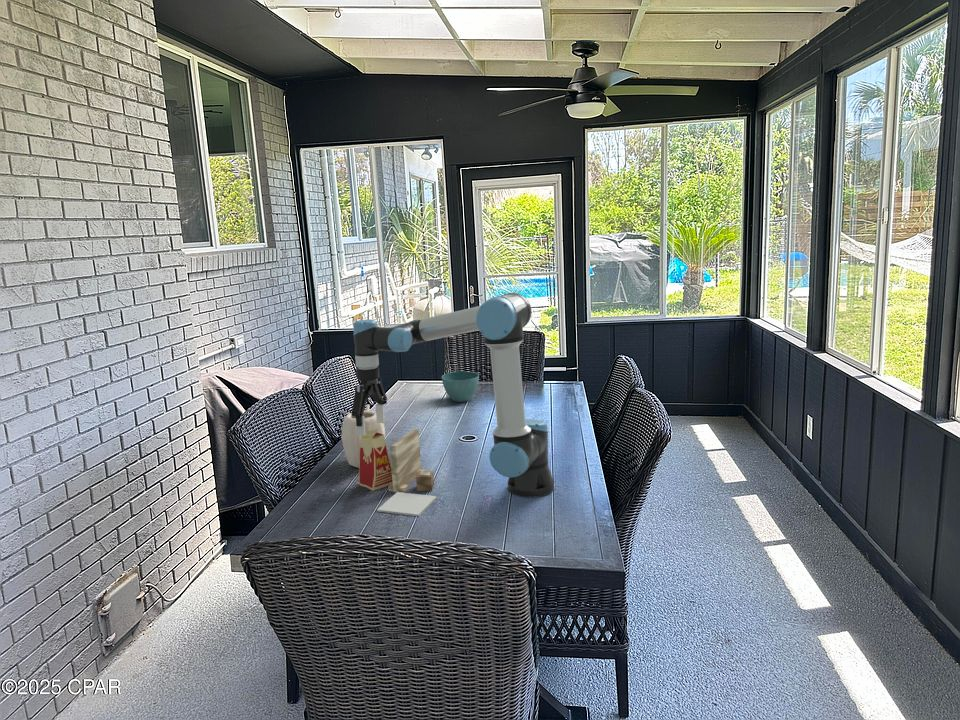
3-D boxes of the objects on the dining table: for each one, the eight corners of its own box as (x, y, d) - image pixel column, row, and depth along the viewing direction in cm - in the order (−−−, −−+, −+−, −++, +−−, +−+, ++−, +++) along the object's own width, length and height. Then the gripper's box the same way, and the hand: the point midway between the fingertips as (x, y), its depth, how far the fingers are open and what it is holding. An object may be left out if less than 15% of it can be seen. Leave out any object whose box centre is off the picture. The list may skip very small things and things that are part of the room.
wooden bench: (426, 473, 236) (423, 429, 233) (404, 493, 219) (401, 446, 216) (410, 471, 238) (408, 428, 235) (387, 491, 221) (384, 445, 218)
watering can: (391, 449, 262) (388, 402, 259) (382, 474, 236) (378, 423, 233) (351, 450, 262) (348, 404, 259) (338, 476, 236) (334, 424, 232)
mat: (436, 498, 214) (436, 496, 214) (418, 516, 201) (418, 514, 201) (397, 493, 219) (397, 492, 219) (377, 511, 206) (377, 509, 206)
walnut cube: (434, 485, 225) (433, 470, 224) (432, 490, 220) (431, 476, 219) (419, 485, 226) (418, 470, 225) (417, 491, 221) (416, 476, 220)
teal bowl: (479, 404, 322) (478, 379, 319) (441, 405, 322) (440, 380, 320) (479, 394, 340) (479, 370, 337) (444, 395, 340) (442, 372, 337)
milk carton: (395, 482, 228) (391, 426, 224) (373, 491, 222) (369, 433, 218) (378, 476, 234) (374, 421, 230) (356, 484, 228) (352, 428, 224)
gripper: (375, 358, 233) (378, 417, 237) (337, 375, 210) (342, 439, 214) (394, 359, 230) (397, 418, 235) (358, 376, 207) (363, 441, 212)
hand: (371, 428), depth 224 cm, fingers open, 13 cm apart
